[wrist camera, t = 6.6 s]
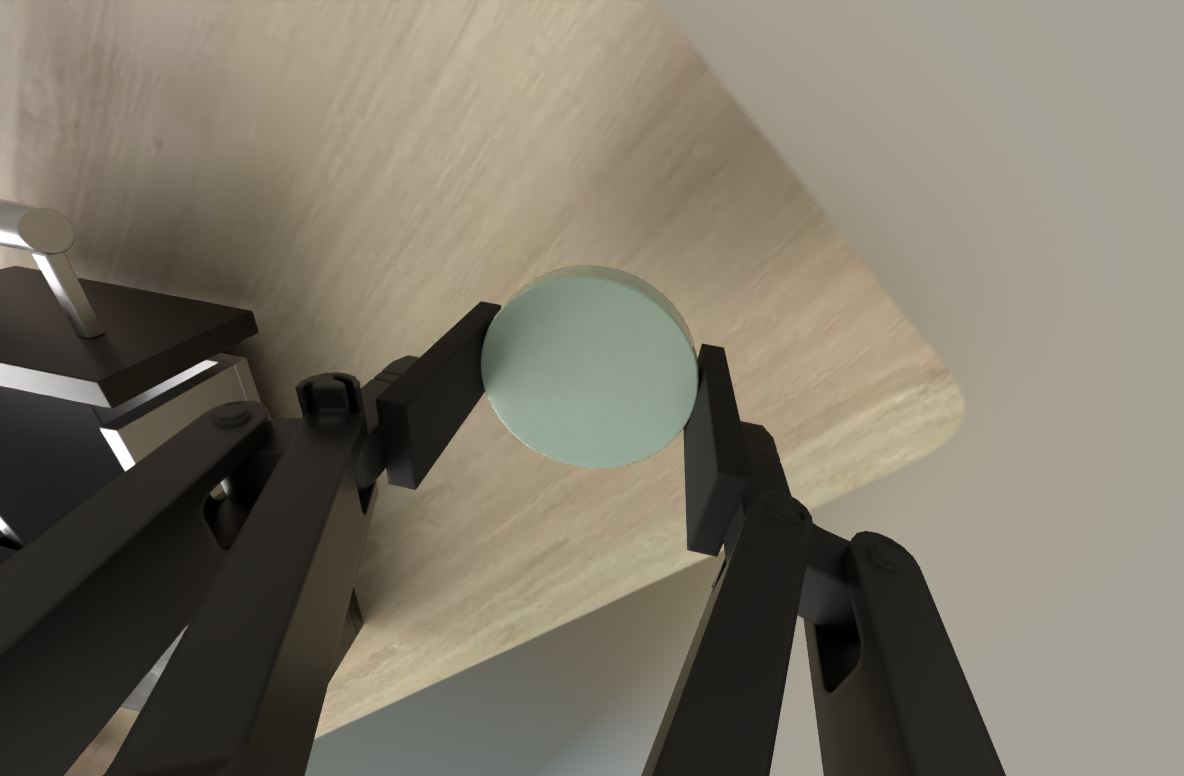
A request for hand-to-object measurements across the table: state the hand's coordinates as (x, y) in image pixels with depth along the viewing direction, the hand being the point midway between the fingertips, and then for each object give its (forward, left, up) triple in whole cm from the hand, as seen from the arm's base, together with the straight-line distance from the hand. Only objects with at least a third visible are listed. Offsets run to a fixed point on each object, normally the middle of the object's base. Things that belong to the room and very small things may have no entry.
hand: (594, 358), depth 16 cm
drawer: (+23, +8, -4) cm, 25 cm away
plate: (0, 0, 0) cm, 0 cm away
